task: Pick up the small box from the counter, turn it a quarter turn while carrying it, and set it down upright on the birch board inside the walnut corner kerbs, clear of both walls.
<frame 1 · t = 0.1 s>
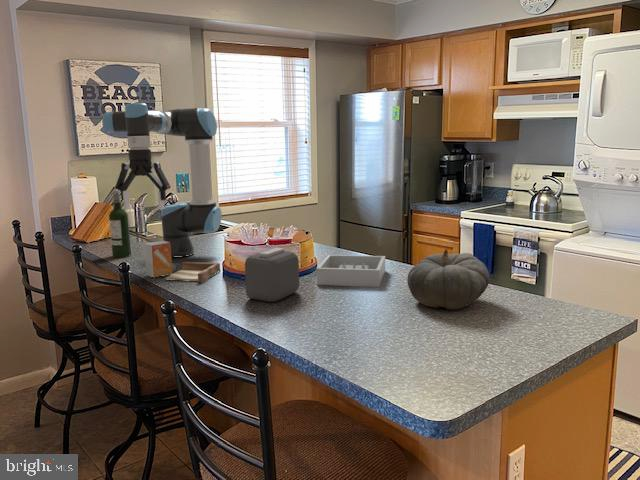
hand: (144, 209, 196), 28 cm above the worktop, fingers open, 13 cm apart
gourd: (447, 304, 173), on the worktop
small box: (159, 276, 215), on the worktop
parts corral: (352, 277, 205), on the worktop
metal bracket: (352, 279, 205), resting in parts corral
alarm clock: (275, 297, 184), on the worktop
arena: (190, 276, 212), on the worktop
wine bottle: (122, 256, 252), on the worktop
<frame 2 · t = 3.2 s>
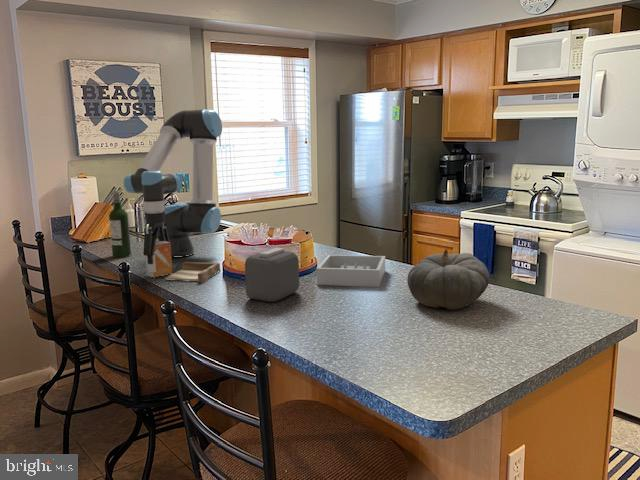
hand: (159, 268, 214), 3 cm above the worktop, fingers closed on small box, 10 cm apart
small box: (159, 275, 215), on the worktop, touching gripper
metal bracket: (353, 280, 204), resting in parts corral
everything else where it was.
when the fingers open (5 cm above the worktop, at t = 9.7 s): small box drops 1 cm, resting on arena.
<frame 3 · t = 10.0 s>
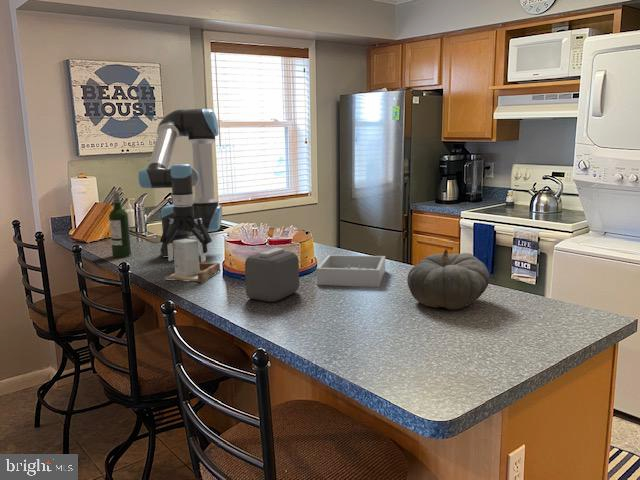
hand: (187, 260, 211), 6 cm above the worktop, fingers open, 13 cm apart
small box: (187, 274, 213), point 1 cm above the worktop, touching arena
metal bracket: (355, 282, 202), resting in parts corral
everything else where it was.
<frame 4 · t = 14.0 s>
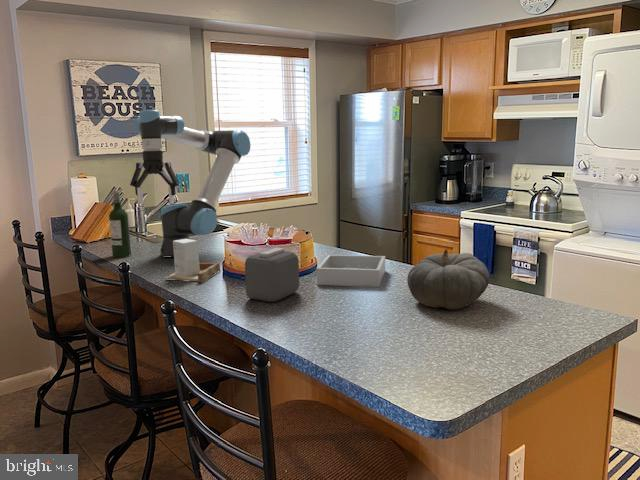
hand: (156, 203, 221), 27 cm above the worktop, fingers open, 13 cm apart
metal bracket: (355, 283, 200), resting in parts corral
everything else where it was.
at the end: small box inside the target area on the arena (1.6 cm from its centre), point 0.8 cm above the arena's base; small box tilted 0°; the gripper is holding nothing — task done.
